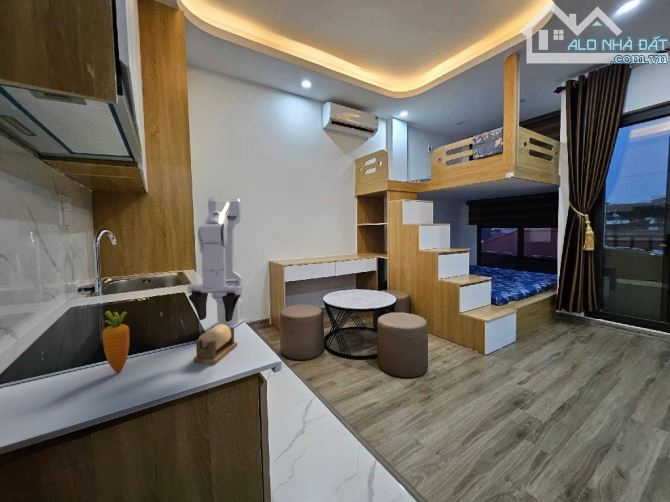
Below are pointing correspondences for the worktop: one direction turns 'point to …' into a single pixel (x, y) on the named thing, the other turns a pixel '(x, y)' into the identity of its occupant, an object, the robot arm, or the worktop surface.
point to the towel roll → (216, 336)
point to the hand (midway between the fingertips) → (215, 319)
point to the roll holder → (214, 350)
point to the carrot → (116, 341)
